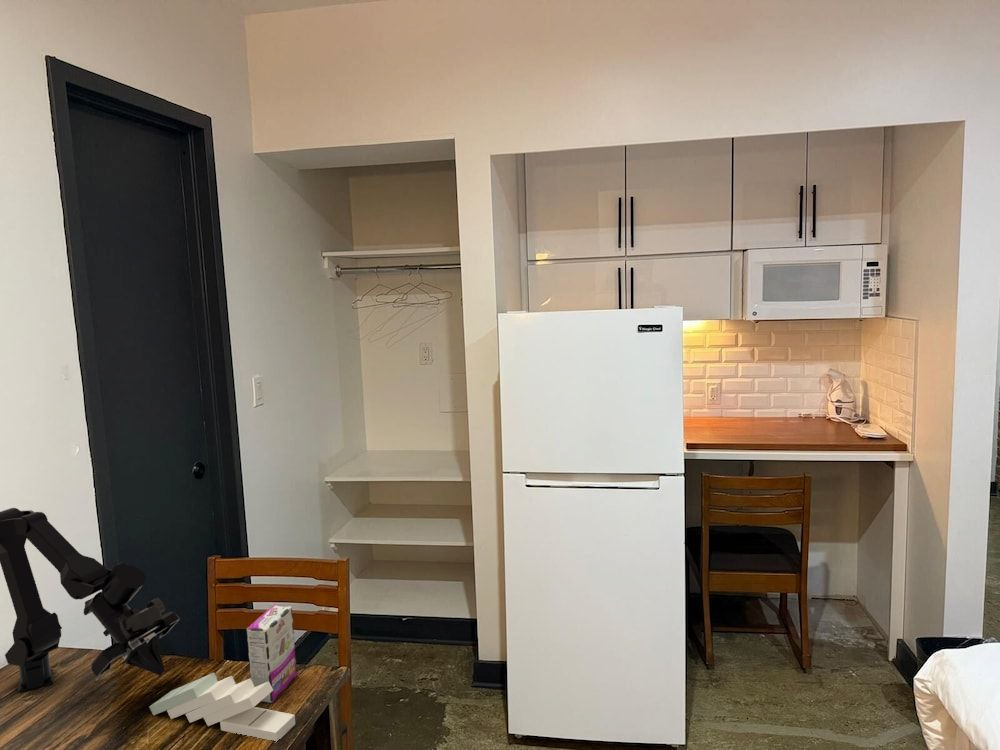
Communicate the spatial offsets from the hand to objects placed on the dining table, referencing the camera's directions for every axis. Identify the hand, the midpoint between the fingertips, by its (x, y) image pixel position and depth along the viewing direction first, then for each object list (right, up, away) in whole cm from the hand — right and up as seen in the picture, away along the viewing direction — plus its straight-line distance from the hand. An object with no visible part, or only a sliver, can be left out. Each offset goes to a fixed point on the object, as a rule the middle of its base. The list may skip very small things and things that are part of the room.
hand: (162, 673), depth 146 cm
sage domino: (-1, -7, +1) cm, 7 cm away
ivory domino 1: (+4, -7, 0) cm, 8 cm away
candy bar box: (+21, -7, +7) cm, 23 cm away
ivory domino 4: (+16, -7, -4) cm, 18 cm away
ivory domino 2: (+8, -7, -2) cm, 11 cm away
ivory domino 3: (+12, -7, -3) cm, 14 cm away
